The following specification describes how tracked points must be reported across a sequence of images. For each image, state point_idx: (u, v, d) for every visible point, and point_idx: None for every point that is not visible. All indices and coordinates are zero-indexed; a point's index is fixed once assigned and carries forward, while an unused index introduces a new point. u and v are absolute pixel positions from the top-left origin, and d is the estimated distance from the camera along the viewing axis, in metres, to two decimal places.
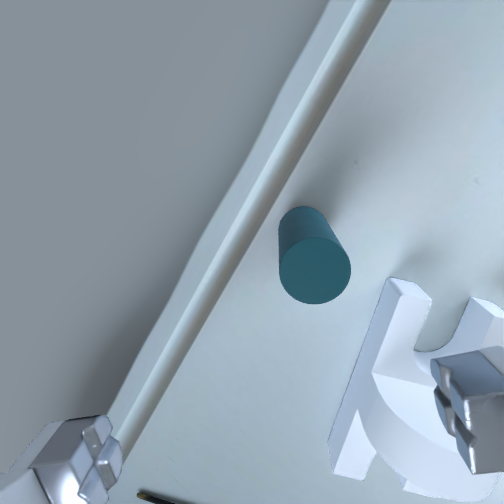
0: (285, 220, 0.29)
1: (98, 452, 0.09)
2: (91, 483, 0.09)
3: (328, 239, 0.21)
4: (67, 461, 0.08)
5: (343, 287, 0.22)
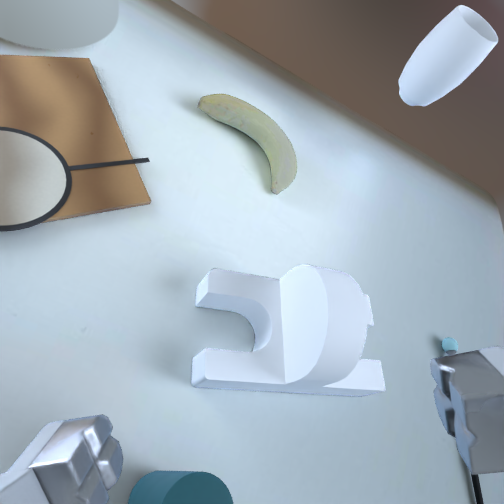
0: None
1: (98, 452, 0.09)
2: (91, 483, 0.09)
3: None
4: (67, 460, 0.08)
5: (208, 475, 0.20)
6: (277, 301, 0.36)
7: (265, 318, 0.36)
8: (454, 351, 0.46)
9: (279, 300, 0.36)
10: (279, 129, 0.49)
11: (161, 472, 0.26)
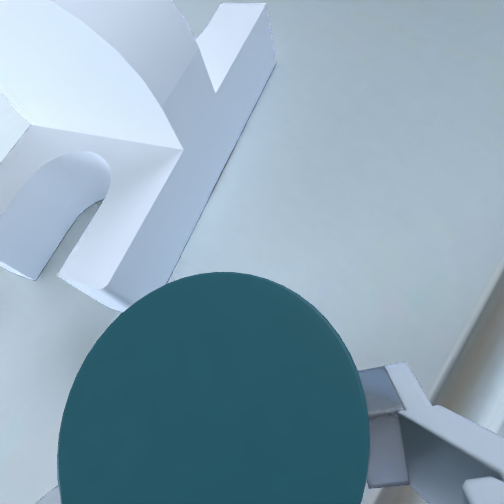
0: None
1: None
2: None
3: None
4: None
5: (109, 334, 0.06)
6: (59, 134, 0.20)
7: (81, 163, 0.20)
8: None
9: (58, 131, 0.20)
10: None
11: None
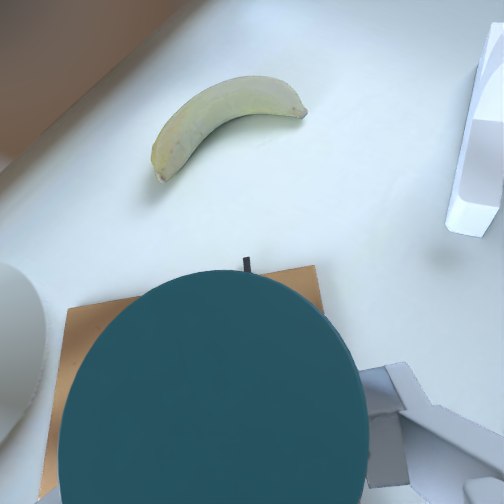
0: None
1: None
2: None
3: None
4: None
5: (109, 332, 0.06)
6: None
7: None
8: None
9: None
10: (218, 85, 0.36)
11: None
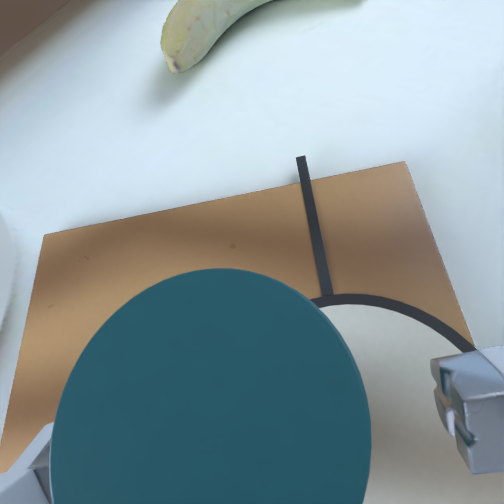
0: None
1: None
2: None
3: None
4: None
5: (104, 331, 0.05)
6: None
7: None
8: None
9: None
10: None
11: None
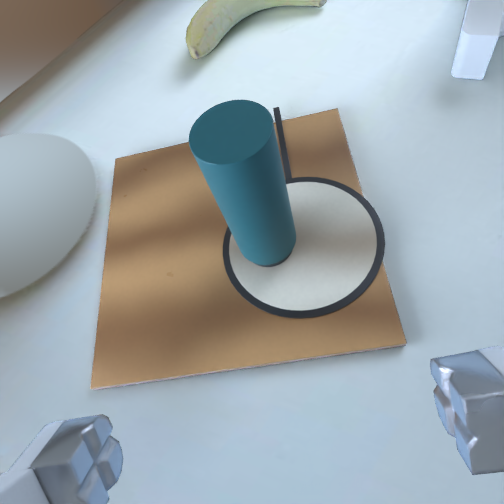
0: (282, 239, 0.23)
1: (98, 452, 0.09)
2: (91, 483, 0.09)
3: (209, 164, 0.17)
4: (67, 461, 0.08)
5: (200, 118, 0.18)
6: None
7: None
8: None
9: None
10: None
11: None
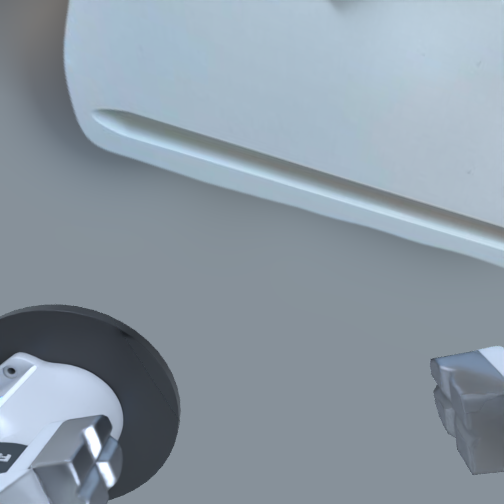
0: None
1: (98, 452, 0.09)
2: (91, 483, 0.09)
3: None
4: (67, 460, 0.08)
5: None
6: None
7: None
8: None
9: None
10: None
11: None
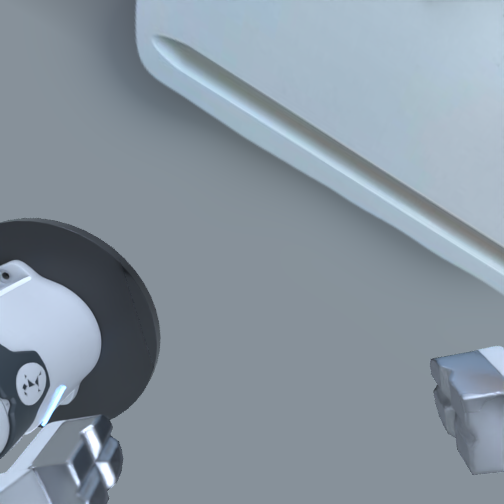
0: None
1: (98, 452, 0.09)
2: (91, 483, 0.09)
3: None
4: (67, 460, 0.08)
5: None
6: None
7: None
8: None
9: None
10: None
11: None
